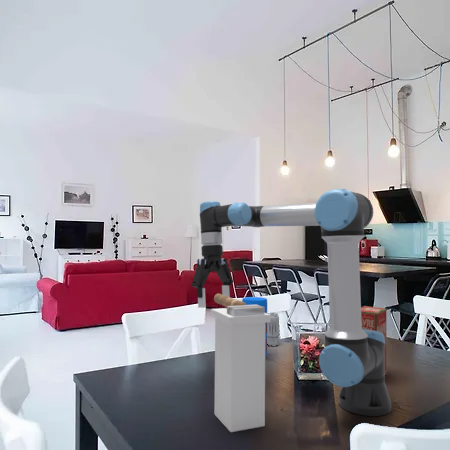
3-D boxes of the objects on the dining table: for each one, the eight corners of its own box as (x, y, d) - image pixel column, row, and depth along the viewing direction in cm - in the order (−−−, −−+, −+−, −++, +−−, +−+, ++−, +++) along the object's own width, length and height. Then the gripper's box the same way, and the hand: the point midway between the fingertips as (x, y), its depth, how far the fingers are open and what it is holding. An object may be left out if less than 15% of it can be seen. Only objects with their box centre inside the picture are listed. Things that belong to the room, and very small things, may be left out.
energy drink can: (266, 346, 197) (266, 314, 197) (266, 343, 203) (266, 312, 203) (279, 347, 196) (279, 314, 197) (278, 343, 202) (278, 312, 203)
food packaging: (376, 384, 146) (376, 312, 147) (350, 379, 152) (350, 310, 152) (387, 375, 157) (387, 308, 157) (362, 370, 162) (362, 305, 163)
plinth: (209, 413, 121) (211, 308, 122) (247, 407, 125) (248, 306, 126) (228, 434, 108) (229, 317, 109) (269, 427, 112) (270, 314, 113)
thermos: (265, 362, 172) (265, 301, 173) (239, 360, 174) (240, 300, 175) (268, 355, 182) (268, 297, 183) (243, 353, 185) (244, 296, 185)
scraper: (205, 303, 131) (205, 294, 131) (231, 302, 135) (231, 293, 135) (234, 316, 110) (234, 305, 110) (264, 314, 113) (264, 303, 113)
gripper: (224, 246, 161) (227, 301, 159) (179, 245, 141) (182, 309, 139) (240, 244, 156) (243, 302, 154) (196, 243, 137) (199, 309, 135)
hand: (214, 305), depth 147 cm, fingers open, 13 cm apart
